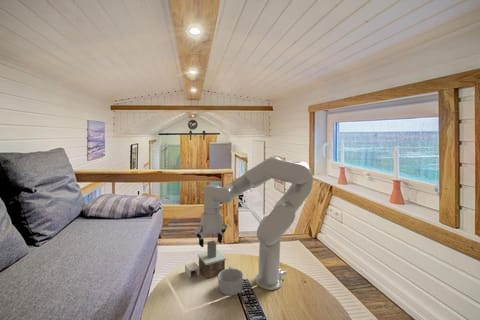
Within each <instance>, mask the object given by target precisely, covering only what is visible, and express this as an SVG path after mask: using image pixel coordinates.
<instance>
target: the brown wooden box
mask: <svg viewBox="0 0 480 320" xmlns="http://www.w3.org/2000/svg"><path fill="white" fill-rule="evenodd" d="M198 266H199V273H201V274H202V275H203V276H204V278H205V279H206V280H207V279H211V278H215V277H218V274H219V273H220V272H221V271H222V270H225V269H226V260H224V261H220V262H216V263H213V264H209V265H205V263H204V262H203V261H202V260H201V259H200V258H199V257H198Z"/></svg>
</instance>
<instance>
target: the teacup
mask: <svg viewBox="0 0 480 320" xmlns="http://www.w3.org/2000/svg"><path fill="white" fill-rule="evenodd" d="M243 276H244V275H243V272H242V271H241V270H240V269H238V268H233V266H228V268H225V270H222V271H221V272H220V273H219V274H218V276H217V280H218V289H219V291H220V292H221V293H222V294H223V295H225V296H227V297H233V296H236V295H237V294H239V293H240V292H241V291H242V289H243V285H244V284H243V281H244V279H243V278H244V277H243Z"/></svg>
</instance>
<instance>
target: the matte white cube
mask: <svg viewBox="0 0 480 320" xmlns="http://www.w3.org/2000/svg"><path fill="white" fill-rule="evenodd" d="M184 272H185V274H186V275H187V277H188V278H189V279H190V278H192V272H194V273H195V275H197V276H200V270H199V264H197V263H196V262H195V261H193V262H189V263H185V264H184Z"/></svg>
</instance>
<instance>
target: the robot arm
mask: <svg viewBox="0 0 480 320" xmlns="http://www.w3.org/2000/svg"><path fill="white" fill-rule="evenodd" d="M272 179H273V180H276V181H281V182H286V183H289V184H291V185H290V186H289V188H288V189H287V190H286V192H285V193H284V194H283V195H282V196H281V197H280V199H279V200H278V201H277V202H276V203H275V204H274V207H273V209H272V210H271V212H270V213H269V214H268V215H265V216H263V218H262V219H261V221H260V223H259V225H258V226H257V229H256V237H257V240H258V241H259V244H258V246H259V247H258V248H259V249H258V274H257V275H256V276H255V277H254V282H255V283H256V286H257V287H258V288H260V289H263V290H267V291H275V290H278V289H280V288H281V287H282V286H283V278H282V277H283V276H286V275H287V272H288V271H287V270H282V269H281V268H280V262H281V261H280V260H281V259H280V258H281V257H280V255H281V238H282V236H283V235H284V234H285V233H286V232H287V231H288V229H289V228H290V227H291V226H292V225H293V223H294V221H295V219H296V213H297V211H298V209H299V208H301V206H302V205H303V203H304V202H305V201H306V199H307V198H308V197H309V195H310V194H311V191H312V188H313V185H314V184H313V182H314V178H313V173H312V170H311V168H310V165H309V164H308V163H307V162H305V161H302V160H299V161H295V162H293V161H287V160H283V159H281V158H280V157H278V156H270V157H269V158H266V159H265V160H263V161H261V162H260V163H258V164H257V165H255V166H254V167H252V168H250V169H249V170H247V171H245V173H244V174H242V175H241V176H239V177H237V178H235V179H234V180H232V181H231V182H229V183H227V184H226V185H224V186H222V187H221V186H219V185H218V184H213V183H211V184H207V185H205V186H204V193H203V194H204V195H203V199H204V200H203V212H202V213H201V216H200V223H199V226H198V227H197V228H195V229H194V230H193V232H194V234H195V236H196V237H197V238H198V244H199V246H200V247H201V248H204V242H205V240H204V237H205V236H207V235H211V234H212V235H213V234H217V242H218V243H219V244H222V241H223V236H224V233H225V232H226V231H227V228H228V225H227V224H226V223H223V222H222V221H223V220H222V213H221V210H223V206H221V204H229V203H231V202H232V201H233V200H234V199H235V198H236V197H238V196H240V195H241V194H243V193H245V192H246V191H248V190H251V189H255V188H257V187H260V186H261V185H263V184H265V183H266V182H268V181H270V180H272ZM199 232H200V233H199Z"/></svg>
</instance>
